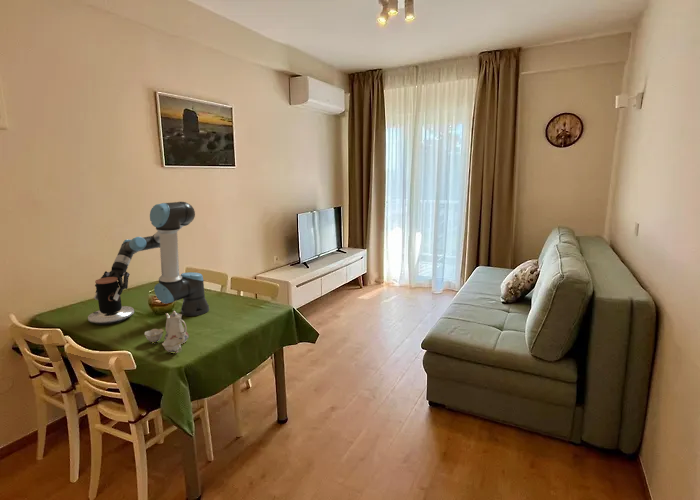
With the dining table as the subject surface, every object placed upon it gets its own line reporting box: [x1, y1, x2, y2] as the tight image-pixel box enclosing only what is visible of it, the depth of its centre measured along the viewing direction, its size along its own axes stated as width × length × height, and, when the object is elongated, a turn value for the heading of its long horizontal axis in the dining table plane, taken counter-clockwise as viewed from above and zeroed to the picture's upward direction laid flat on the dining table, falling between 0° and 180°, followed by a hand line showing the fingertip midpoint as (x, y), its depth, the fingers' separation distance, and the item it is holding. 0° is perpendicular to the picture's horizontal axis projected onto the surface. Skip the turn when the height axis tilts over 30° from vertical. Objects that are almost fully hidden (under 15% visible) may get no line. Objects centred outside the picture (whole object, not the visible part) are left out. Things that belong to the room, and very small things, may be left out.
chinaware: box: [144, 310, 190, 354], centre depth 184 cm, size 28×17×17 cm, turn 57°
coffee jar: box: [95, 277, 123, 314], centre depth 214 cm, size 11×11×18 cm
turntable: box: [87, 305, 135, 324], centre depth 217 cm, size 22×22×2 cm
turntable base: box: [95, 317, 129, 326], centre depth 217 cm, size 16×16×2 cm
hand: (105, 299), depth 212 cm, fingers closed on coffee jar, 10 cm apart
